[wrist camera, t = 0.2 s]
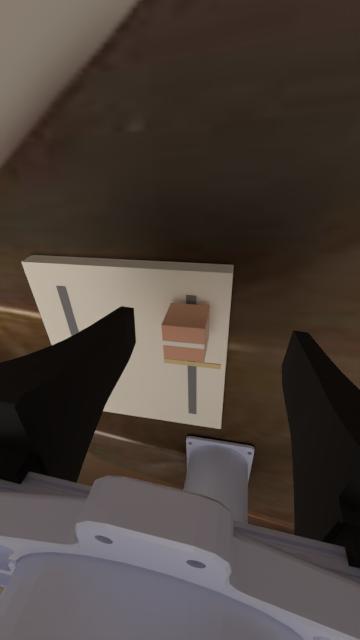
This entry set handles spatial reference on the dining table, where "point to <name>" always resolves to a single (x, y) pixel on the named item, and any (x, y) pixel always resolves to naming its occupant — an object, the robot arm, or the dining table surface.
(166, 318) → the fader terracotta
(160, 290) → the console
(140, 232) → the dining table surface
